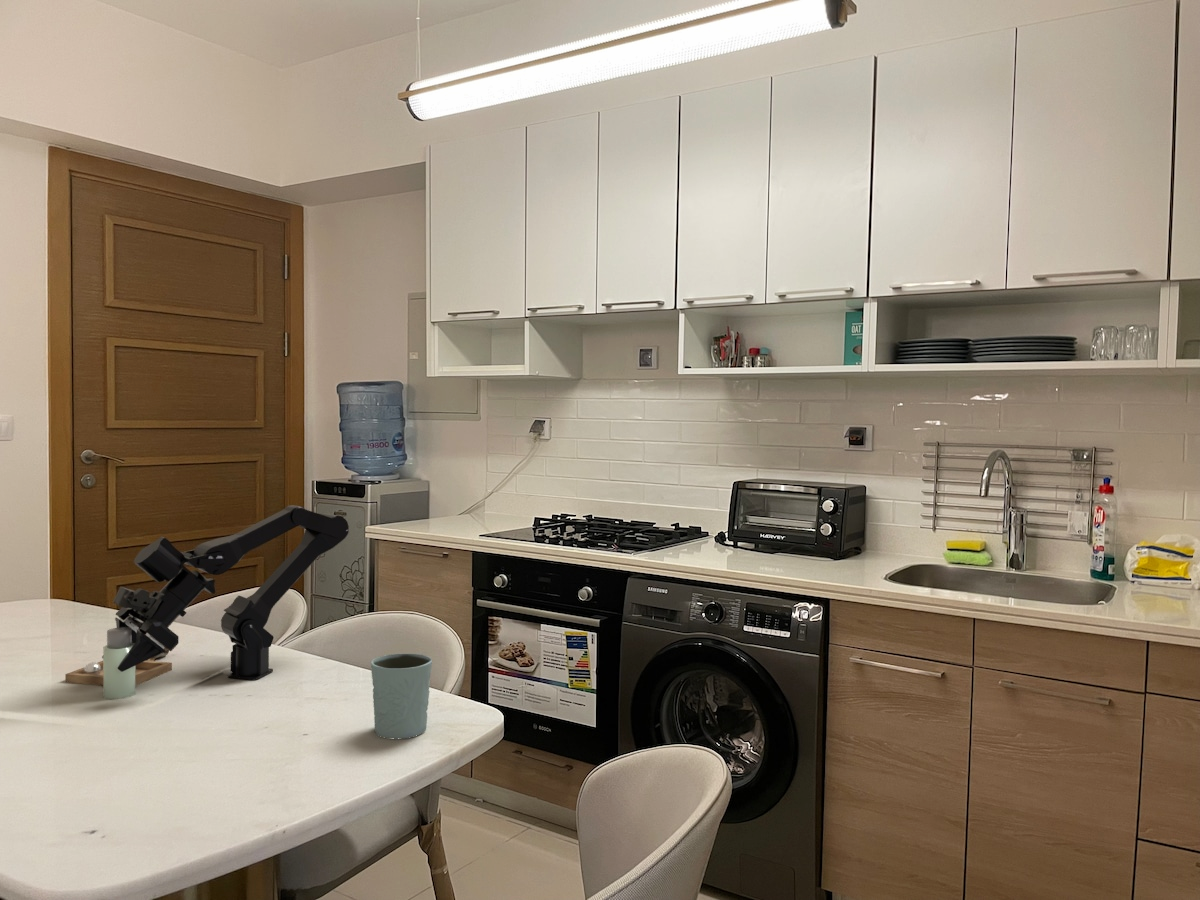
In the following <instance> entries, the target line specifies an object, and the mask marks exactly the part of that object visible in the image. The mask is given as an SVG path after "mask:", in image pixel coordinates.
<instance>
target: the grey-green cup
mask: <svg viewBox="0 0 1200 900" xmlns="http://www.w3.org/2000/svg"><path fill="white" fill-rule="evenodd" d="M432 665H433V659H432V658H431V657H430V656H427V655H424V654H419V653H406V652H405V653H393V654H386V655H381V656H379V657H376V658H373V659H371V661H370V668H371V678H372V683H371V684H372V686H373V688H372V699H373V701H372V702H373V703H372V704H373V715H374V717H373V720H374V733H375V732H376V733H375V734H376V735H377V736H378V735H379V736H378V737H380V736H381V737H380V738H382V737H385V738H384V739H386V738H394V739H393V740H399V739H398V738H407V739H410V738H409V737H413V736H416V735H419V734H421V733H423V732H424V731H425V732H426V730H427V723H428V709H429V708H428V707H429V698H430V681H431V675H432ZM425 732H424V733H425ZM424 733H423V734H424ZM421 735H422V734H421ZM419 736H420V735H419ZM416 737H417V736H416ZM413 738H414V737H413Z"/></svg>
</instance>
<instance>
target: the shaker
mask: <svg viewBox="0 0 1200 900" xmlns="http://www.w3.org/2000/svg"><path fill="white" fill-rule="evenodd" d="M133 646H134V643H132V628H128V627H120V628H117V627H113V628H109V629H107V630H106V644H105V645H104V646H103V650H102V653H103V655H102V656H103V658H102V659H103V660H102V661H103V685H102V687H103V688H102V689H103V691H102V692H103V693H102V694H103V698H104V699H106V700H119V699H126V698H129V697H132V696H134V695H136V686H135V666H133V667H131V668H129V669H127V670H125V671H123V672H121V671H120V670H118V669H117V668H118V666H119V665H120V663H121V662H122V660H123V659H124V658H125V656H126V655H127V654H128V652H129V651H130V650H131V648H132V647H133Z"/></svg>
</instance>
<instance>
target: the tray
mask: <svg viewBox="0 0 1200 900" xmlns="http://www.w3.org/2000/svg"><path fill="white" fill-rule="evenodd" d="M97 663H98V664H99V665H100V666H101V668H102V671H101V673H100V675H91V674H84V668H85V667H86V666H84V667H82V668H79V669H76V670H73V671H71V672H68V673H65V683H71V684H82V685H94V686H103V660H100V661H98V662H97ZM172 670H173V663H172V662H168V661H166V662H165V661H155V660H154V661H144V662H142V663H140V664H138V665H135V687H136V686H137V685H141V684H142V683H145V682H147V681H150V680H152V679H155V678H157V677H160V676H162V675H164V674H167V673H169V672H171V671H172Z"/></svg>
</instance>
